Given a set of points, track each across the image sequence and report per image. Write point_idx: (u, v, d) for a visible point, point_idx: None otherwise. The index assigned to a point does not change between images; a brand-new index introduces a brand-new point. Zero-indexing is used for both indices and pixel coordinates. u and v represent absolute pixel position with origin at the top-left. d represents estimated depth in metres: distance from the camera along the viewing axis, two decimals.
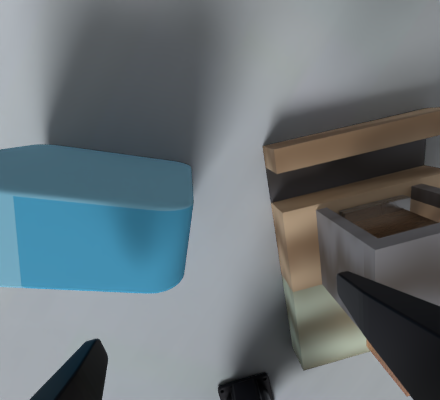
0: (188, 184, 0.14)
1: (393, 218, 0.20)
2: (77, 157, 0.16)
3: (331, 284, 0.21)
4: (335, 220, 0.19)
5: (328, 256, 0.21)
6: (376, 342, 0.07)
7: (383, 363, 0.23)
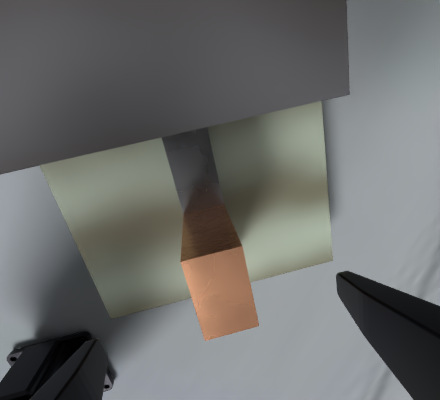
0: None
1: None
2: None
3: None
4: None
5: None
6: (376, 342, 0.07)
7: None
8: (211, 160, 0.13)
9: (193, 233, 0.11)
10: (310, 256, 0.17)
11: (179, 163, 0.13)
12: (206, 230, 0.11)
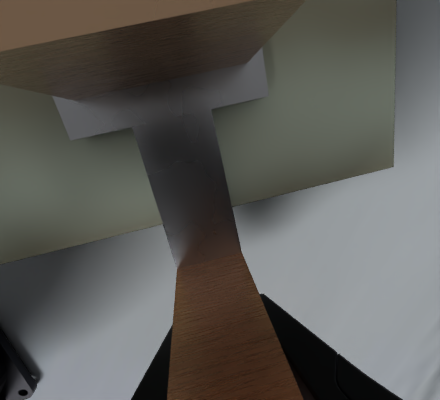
0: None
1: None
2: None
3: None
4: None
5: None
6: None
7: None
8: (222, 186, 0.08)
9: (193, 328, 0.06)
10: (355, 156, 0.09)
11: (169, 190, 0.08)
12: (217, 324, 0.06)
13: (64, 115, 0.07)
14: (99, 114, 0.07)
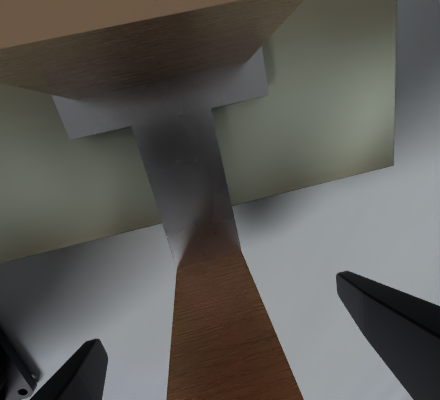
0: None
1: None
2: None
3: None
4: None
5: None
6: (376, 342, 0.07)
7: None
8: (221, 185, 0.08)
9: (192, 327, 0.06)
10: (355, 154, 0.09)
11: (169, 189, 0.08)
12: (217, 323, 0.06)
13: (63, 114, 0.07)
14: (98, 113, 0.07)
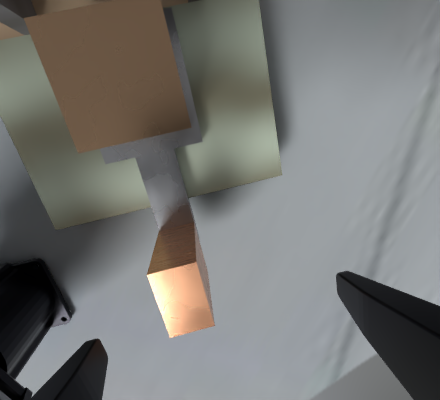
0: None
1: None
2: None
3: None
4: None
5: None
6: (376, 342, 0.07)
7: None
8: (181, 186, 0.15)
9: (162, 249, 0.13)
10: (258, 169, 0.17)
11: (154, 188, 0.15)
12: (173, 247, 0.13)
13: (103, 152, 0.14)
14: (119, 152, 0.14)
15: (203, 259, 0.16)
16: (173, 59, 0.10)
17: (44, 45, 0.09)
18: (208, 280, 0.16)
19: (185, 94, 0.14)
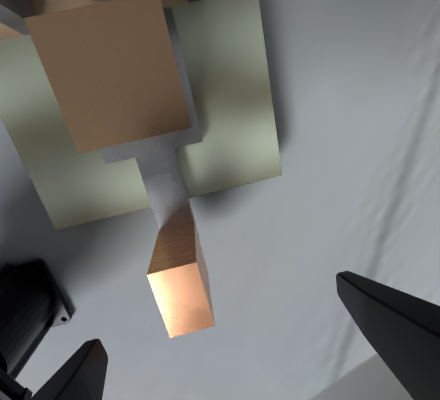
0: None
1: None
2: None
3: None
4: None
5: None
6: (376, 342, 0.07)
7: None
8: (181, 186, 0.15)
9: (162, 249, 0.13)
10: (258, 169, 0.17)
11: (154, 188, 0.15)
12: (173, 247, 0.13)
13: (103, 152, 0.14)
14: (119, 152, 0.14)
15: (203, 259, 0.16)
16: (173, 59, 0.10)
17: (44, 45, 0.09)
18: (208, 280, 0.16)
19: (185, 94, 0.14)
